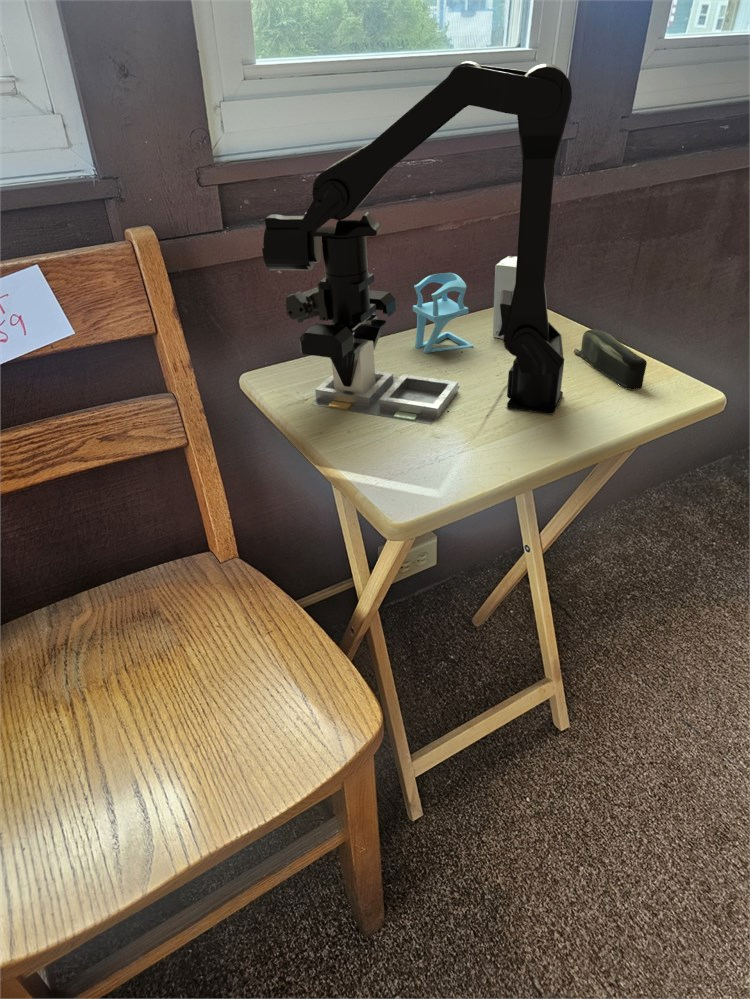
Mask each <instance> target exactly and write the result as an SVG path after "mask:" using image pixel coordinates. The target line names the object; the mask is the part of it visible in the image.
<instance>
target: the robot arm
mask: <svg viewBox="0 0 750 999" xmlns="http://www.w3.org/2000/svg"><path fill="white" fill-rule="evenodd" d="M572 94H573V92H572V86H571V82H570V80H569V78H568V76H567V75H566V74H565V72H564V71H563V70H562V69H561V68H560V67H559V66H557V65H555V64H552V63H541V64H537V65H535V66H534V67H532V68H530V69H529V70H521V69H520V70H519V69H514V68H506V67H505V68H504V67H497V66H489V65H483V64H479V63H477V62H475V61H471V60H469V61H462V62H461V63H460V64H458V65H456V66H454V67H453V69H452V70H451V71H450V72H449V74H448V76H447V77H445V79H443V80H442V81H440V83H439V84H438V85H437V86H435V87H434V88H433V89H432V90H431V91H430V92H429V93H427V94H426V95H425V96H424V97H423V98H421V99H420V100H419V101H418V102H417V103H416V104H415V105H413V106H412V107H411V108H410V109H409V110H408V111H406V112H405V113H404V114H403V115H402V116H401V117H399V118H398V119H397V120H396V121H395V122H394V123H392V125H390V126H389V127H388V128H387V129H385V131H383V132H382V133H381V134H380V135H379V136H378V137H376V138H375V139H374V140H373V141H371V142H370V143H368V144H366V145H364V146H362V147H360V148H358V149H357V150H355V151H354V152H352V153H349V154H348V155H346V156H345V157H343V158H341V159H339V160H337V161H336V162H334V163H333V164H331V165H330V166H329V167H327V168H326V169H324V170H323V171H322V172H320V173H319V174H318V175H317V177H316V178H315V179H314V181H313V183H312V199H313V200H312V202H311V203H310V205H309V208H308V209H307V211H305V212H304V215H282V214H269V215H268V216H267V217H266V218H264V223H265V228H264V234H263V246H262V250H261V252H262V256H263V257H262V258H263V261H264V264H265V267H266V268H267V269H268V270H269V271H313V269H314V267H315V263H320V262H321V258H323V266H324V269H323V270H324V278H323V279H321V280H319V282H318V284H317V287H314V288H311V289H308V290H305V291H303V292H302V291H300V290H299V291H297V292H295V293H291V294H289V295H287V296H286V297H285V315H287V316H288V317H289V319H290V320H292V321H295V322H296V323H297V324H300V323H303V322H304V321H306V320H309V319H312V318H316V317H318V318H319V321H324V322H328V321H331V323H332V324H324V323H315V324H314V325H313V326H312V327H309V329H307V330H305V332H303V333H302V335H300V337H299V338H298V341H299V350H300V354H302V355H307V356H313V357H314V356H315V357H321V358H327V359H328V358H329V359H330V360H331V363H332V362H333V364H334V366H335V368H336V371H337V373H338V375H339V377H340V379H341V381H342V383H343V385H344V386H347V387H350V386H351V385H352V381H353V378H354V374H355V370H356V366H357V361H358V357H359V353H360V349H361V345H362V344H361V343H354V338H359V339H367V340H369V341H373V346H374V350H375V349H376V346H377V344H378V342H379V339H380V337H381V335H382V332H383V330H384V327H385V326H386V325H387V321H386V320H384V319H378V315H377V314H376V311H382V314H383V315H384V317H386V318H387V317H388V318H389V317H391V316H392V315H393V314H394V313H395V312H397V307H396V306H397V305H396V297H394V295H393V294H392V293H391V292H390V291H381V290H372V289H371V290H370V285H371V284H373V283H374V282H375V273H369V265H368V264H369V263H368V248H367V247H368V245H367V237H376V236H377V235H378V234H379V232H380V231H381V229H382V224H381V223H379V222H378V221H377V220H376V219H375V218H373V217H372V215H371V213H370V212H369V211H365V213H364V214H363V215H362V217H361V218H360V219H359V218H358V219H357V218H356V219H355V218H353V219H352V218H350V219H348V217H350V216H351V215H352V214H353V213H354V212H355V210H357V208H358V207H359V206H360V205H361V204H362V203H363V202H364V200H366V198H367V197H368V196H369V195H370V194H371V192H372V191H373V190H374V189H375V188H376V186H377V185H378V184H379V183H380V182H381V181H382V179H383V178H384V177H385V176H386V174H387V173H388V172H389V171H390V170H391V169H392V168H393V167H395V166H396V165H397V164H399V162H401V161H402V160H404V159H405V158H406V157H407V156H408V155H409V154H411V152H413V151H415V149H417V148H418V147H419V146H420V145H422V144H423V143H424V142H425V141H427V139H429V138H430V137H431V136H432V135H434V134H435V133H437V131H438V130H439V129H441V128H442V127H443V126H445V125H446V124H447V123H448V122H449V121H451V120H452V119H453V118H454V117H455V116H457V115H458V114H459V113H460V112H461V111H463V110H464V109H465V108H467V107H468V106H471V107H478V108H482V109H486V110H489V111H493V112H499V113H504V114H507V115H514V116H515V115H516V117H517V125H518V136H519V145H520V153H521V160H522V161H521V162H522V163H521V164H522V170H521V172H522V173H521V183H520V184H521V188H520V201H519V202H520V203H519V219H518V234H517V237H518V238H517V250H516V251H517V252H516V254H517V255H516V257H517V265H516V277H515V281H514V285H513V288H512V291H507V290H502V291H501V301H500V311H501V316H500V321H499V332H498V336H502V335H504V337H503V339H502V340H503V345H504V348H505V350H507V352H509V353H510V354H511V355H512V356H513V357H515V358H514V360H513V362H512V363H513V364H512V366H511V367H510V369H509V370H508V374H507V375H508V376H507V377H508V378H507V391H506V392H507V393H506V397H507V398H508V399H509V400H508V402H507V403H506V408H508V409H511V410H512V409H514V410H521V411H527V412H533V413H541V414H547V415H553V414H555V412H556V410H557V408H558V407H559V404H560V402H561V400H562V398H563V395H564V392H563V391H562V385H563V384H562V383H563V382H562V381H563V374H564V364H565V358H564V350H563V340H562V334H561V333H560V332H559V330H557V328H555V326H553V325H552V324H551V322H549V315H548V314H549V313H548V305H547V294H546V285H545V282H546V281H545V278H546V269H547V257H548V248H549V247H548V246H549V245H548V244H549V234H550V233H549V232H550V221H551V210H552V199H553V188H554V178H555V177H554V174H555V166H556V165H555V164H556V160H557V156H558V154H559V153H558V152H559V149H560V146H561V142H562V139H563V136H564V132H565V128H566V123H567V121H568V120H567V119H568V117H569V112H570V107H571V104H572V98H573V96H572ZM346 218H347V219H346ZM330 220H335V221H337V222H336V224H335V225H331V226H324V224H326V223H327V222H329V221H330ZM322 256H323V257H322Z"/></svg>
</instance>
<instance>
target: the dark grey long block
mask: <svg viewBox="0 0 750 999" xmlns="http://www.w3.org/2000/svg"><path fill="white" fill-rule="evenodd" d="M573 352H574V354H576V355H578V356H579V355H580V357H581V356H582V357H583V358H582V357H581V358H582V359H583V360H585V359H586V360H587V361H586V360H585V361H586V362H588V363H589V362H590V363H591V364H590V363H589V364H590V365H591V366H593V367H594V368H595V367H596V368H595V369H597V370H598V369H599V371H600V372H601V373H602V372H603V373H602V374H603V375H604V376H606V377H607V378H608V377H609V378H608V379H609V380H611V379H612V380H613V381H612V380H611V381H612V382H614V383H615V382H616V383H617V385H618V384H619V385H620V386H619V385H618V386H619V387H621V386H622V387H621V388H623V387H624V389H625V388H627V390H639V389H641V388H642V387H643V385H644V384H643V383H644V379H645V378H644V377H645V374H646V369H647V364H648V361H646V359H645V358H643V357H641V356H640V355H639V354H637V353H635V352H634V351H632V350H631V349H630V348H628V346H625V345H624V344H622V343H621V342H620V341H618V340H617V339H616V338H615V337H613V336H612V334H610V333H608V332H607V331H604V330H599V329H588V330H586V331H585V332H584V333H583V334H582V339H581V348H580V349H578V348H575V349H573ZM616 383H615V384H616ZM638 388H639V389H638Z"/></svg>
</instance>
